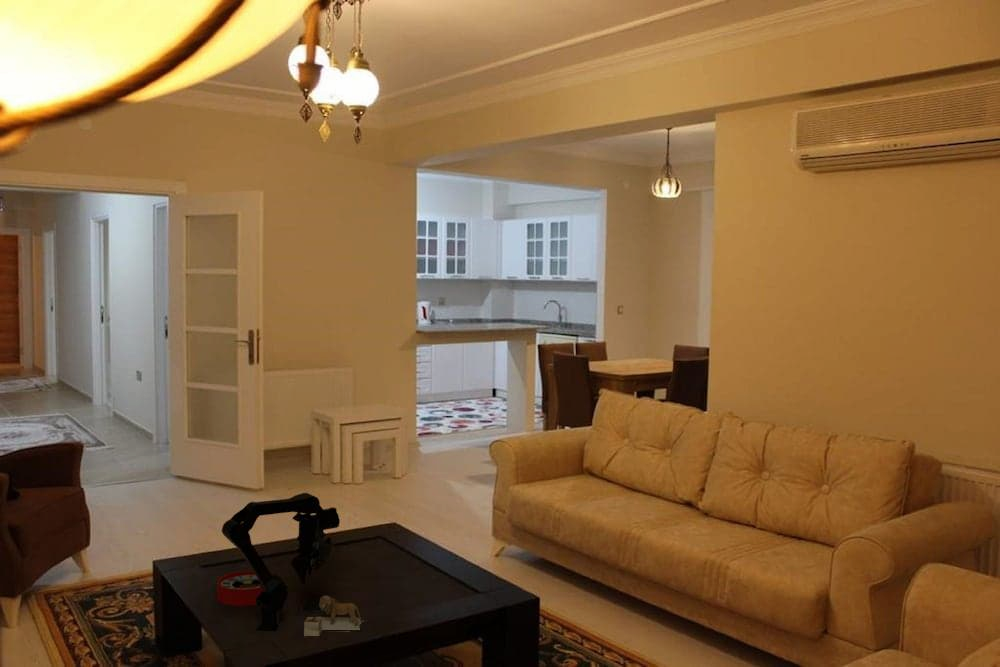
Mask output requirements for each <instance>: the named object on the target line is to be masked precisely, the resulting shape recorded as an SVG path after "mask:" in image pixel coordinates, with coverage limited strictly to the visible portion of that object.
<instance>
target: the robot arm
mask: <svg viewBox="0 0 1000 667" xmlns="http://www.w3.org/2000/svg"><path fill="white" fill-rule="evenodd" d="M337 510H338V509H337V508H336V507H334V506H333V507H329V508H324V509H323V507H322V506H321V503H320V500H319V498H318V497H317V496H315V495H313V494H310V493H309V492H303V493H299V494H296V495H294V496H291V497H289V498H283V499H282V498H281V499H274V500H264V501H249V502H248V503H247V504H246V505H245V506H244V507H243V508H242V509H241V510H239V511H238V512H236V513H235V514H233V516H231V518H230V519H228V520H226V521H225V522H224V523H223V525H222V527H221V533H222V535H223V536H224V537H225V538H226V539H227V540H228V541H229V542H230V543H231V544H233V546H235V547H236V548H237V549H238V551H239V552H240V554H241V555H242V556H243V559H244V560H245V562H246V563H247V564H248V566H249V567H250V568H251V571H253V572H254V573H255V575H256V576H257V578H258V579H259V581H260V587H261V590H262V592H261V594H260V595H259V596H258V597H257V598H256V603H257V605H256V606H259V607H260V608H259V624H258V625H257V627H256V631H257V630H258V631H277V630H278V629H279V627H280V626H281V625H282V620H279V611H282V610H283V607H284V604H285V601H287V599H288V596H289V591H288V589H289V587H288V586H287V585H286V584H285V582H284V579H283V578H282V577H280V576H279V575H278V574H276V573H272V572H271V571H270V570H269V568H268V567H267V565H266V563H264V561H263V559H262V558H261V556H260V554H259V553H258V552H257V550H256V548H255V546H254V545H253V544H252V540H251V539H252V538H251V535H250V531H251V530H252V529H253V527H254V525H255V523H256V522H257V520H258V519H259V517H260V516H269V515H275V514H276V515H278V514H285V513H296V514H295V515H294V516H293V517H292V520H294V521H295V522H298V535H297V537H296V539H297V540H296V541H298V543H297V544H298V547H297V549H296V554H295V555H293V557H292V559H291V562H290V563H291V565H290V566H291V567H292V568H294V570H295V572H296V575H297V577H298V579H299V581H300V583H301V584H302V585H305V584H306V583H307V577H308V575H309V576H311V575H312V573H313V570H314V569H313V566H314V562H315V558H316V557H317V556H318V555H319V554H323V555H324V557H327V558H328V557H330V556H331V554H332V552H333V549H334V546H335V543H334V542H333V538H332V537H331V536H327V537H326V538H323V539H319V535H318V534H316V531H317V528H319V529H320V530H324V531H326V530H333V529H336V528H337V529H338V528H339V527H340V522H341V521H340V516H339V514H338V512H337ZM299 553H301V554H299ZM271 573H272V574H273V575H272V574H271Z"/></svg>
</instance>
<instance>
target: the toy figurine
mask: <svg viewBox="0 0 1000 667" xmlns="http://www.w3.org/2000/svg"><path fill="white" fill-rule="evenodd" d="M324 531H325V530H320V529H319V528H317V531H316V534H318V535H319V539H325V538H324V537H326V536H327V535H326V534H327V533H325V532H324ZM298 554H301V553H298ZM323 558H325V556H324V555H323V554H319V555H318V556H317V557H316V558H315V562H314V566H313V567H316V568H317V564H319V563H318V562H322V563H324V560H323Z"/></svg>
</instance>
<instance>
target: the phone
mask: <svg viewBox="0 0 1000 667" xmlns="http://www.w3.org/2000/svg"><path fill="white" fill-rule="evenodd" d="M323 596H327V594H305V595H303V598H302V601H303V602H301V608H300V613H301V612H322V613H324V612H323V610H322V609H321V608H320V606H319V604H320V598H322V597H323Z"/></svg>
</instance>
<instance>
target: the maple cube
mask: <svg viewBox="0 0 1000 667" xmlns="http://www.w3.org/2000/svg"><path fill="white" fill-rule="evenodd" d="M322 617H323V616H314V617H313V616H311V617H310V616H307V618H306V619H305V620H304V622H303V623H304V625H303V626H304V629H303V635H304V637H306V636H319V637H320V635H321V633H322V632H323V631H322Z"/></svg>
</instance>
